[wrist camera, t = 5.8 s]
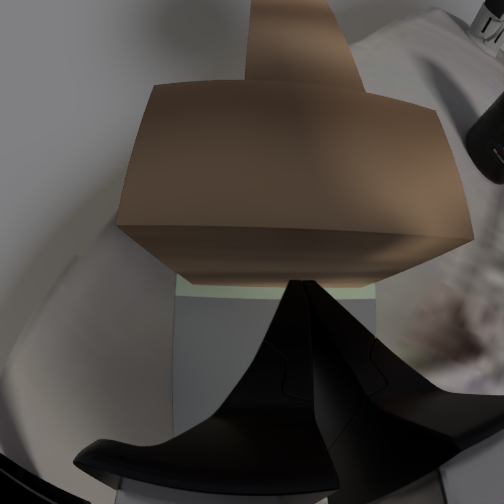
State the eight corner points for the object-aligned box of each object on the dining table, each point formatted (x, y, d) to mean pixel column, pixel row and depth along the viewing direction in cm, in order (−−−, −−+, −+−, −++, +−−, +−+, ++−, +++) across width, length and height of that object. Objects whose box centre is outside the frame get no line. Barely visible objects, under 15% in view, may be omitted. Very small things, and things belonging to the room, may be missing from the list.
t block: (360, 287, 16) (474, 239, 6) (192, 284, 16) (115, 225, 6) (338, 110, 20) (374, 8, 10) (212, 103, 20) (197, -7, 10)
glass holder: (494, 50, 29) (518, 12, 15) (500, 71, 26) (531, 25, 12) (464, 27, 30) (486, -14, 16) (465, 42, 27) (493, -7, 13)
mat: (366, 434, 14) (368, 435, 14) (175, 436, 14) (174, 438, 14) (347, 107, 20) (348, 104, 20) (201, 99, 20) (201, 97, 20)
